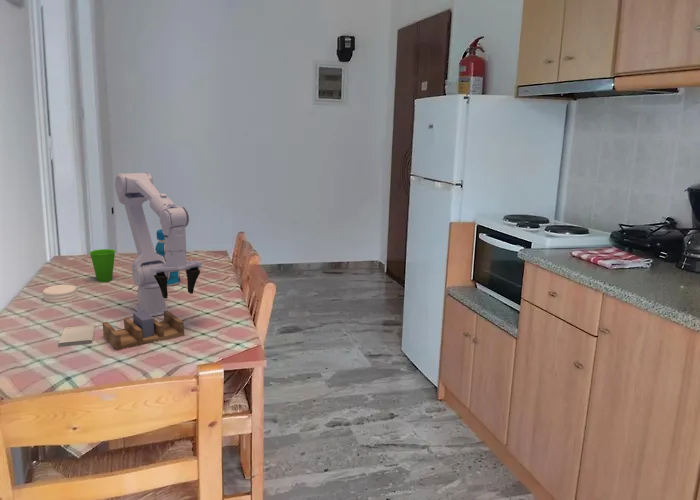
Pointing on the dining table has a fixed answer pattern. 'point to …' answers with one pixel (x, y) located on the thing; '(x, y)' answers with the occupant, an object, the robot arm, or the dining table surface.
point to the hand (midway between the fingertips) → (178, 295)
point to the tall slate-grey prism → (144, 323)
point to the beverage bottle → (160, 250)
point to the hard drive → (77, 335)
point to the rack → (135, 335)
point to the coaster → (59, 293)
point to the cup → (103, 264)
